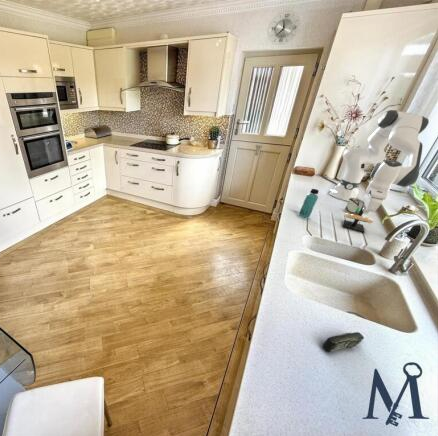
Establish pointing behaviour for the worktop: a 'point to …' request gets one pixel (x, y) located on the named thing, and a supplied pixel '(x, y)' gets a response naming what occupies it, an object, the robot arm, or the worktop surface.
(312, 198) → the beverage bottle
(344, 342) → the dark elongated rock
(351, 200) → the food container
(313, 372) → the worktop surface
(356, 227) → the post
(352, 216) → the ring
